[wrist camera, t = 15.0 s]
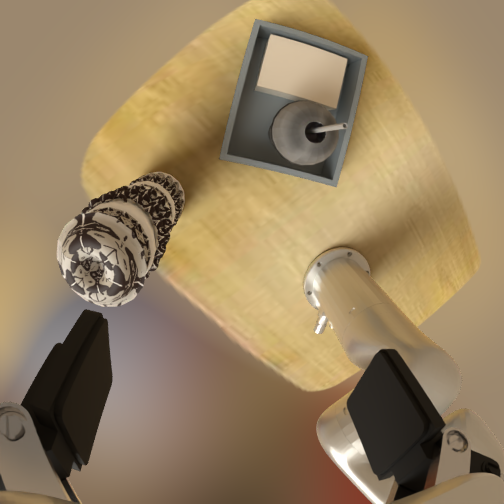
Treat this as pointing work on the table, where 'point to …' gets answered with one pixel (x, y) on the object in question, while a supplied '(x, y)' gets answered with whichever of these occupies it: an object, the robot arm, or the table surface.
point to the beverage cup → (304, 133)
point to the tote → (266, 106)
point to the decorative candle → (120, 239)
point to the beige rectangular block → (300, 72)
